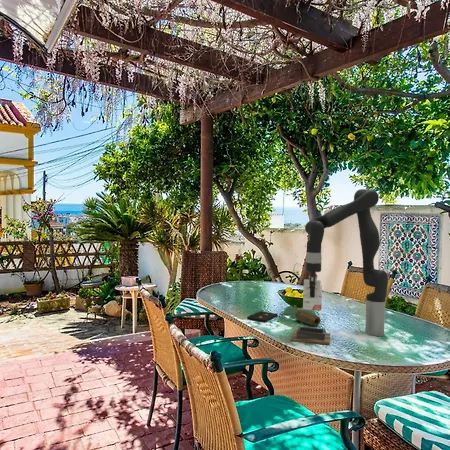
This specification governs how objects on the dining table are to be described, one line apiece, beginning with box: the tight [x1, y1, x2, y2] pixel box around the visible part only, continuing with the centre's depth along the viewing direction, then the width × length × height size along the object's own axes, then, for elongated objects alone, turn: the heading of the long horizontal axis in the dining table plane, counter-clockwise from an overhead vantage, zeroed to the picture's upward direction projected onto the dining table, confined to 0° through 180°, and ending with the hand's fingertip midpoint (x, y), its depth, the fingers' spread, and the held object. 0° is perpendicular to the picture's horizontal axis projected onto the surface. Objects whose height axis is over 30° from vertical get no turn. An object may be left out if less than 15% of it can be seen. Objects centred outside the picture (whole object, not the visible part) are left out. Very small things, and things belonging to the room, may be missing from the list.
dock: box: [290, 326, 331, 346], centre depth 191 cm, size 16×18×4 cm
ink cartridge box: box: [302, 278, 323, 311], centre depth 191 cm, size 9×5×15 cm, turn 69°
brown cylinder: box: [295, 309, 321, 327], centre depth 218 cm, size 15×7×7 cm, turn 37°
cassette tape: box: [246, 310, 279, 324], centre depth 228 cm, size 18×12×2 cm, turn 149°
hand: (312, 295), depth 191 cm, fingers closed on ink cartridge box, 5 cm apart
